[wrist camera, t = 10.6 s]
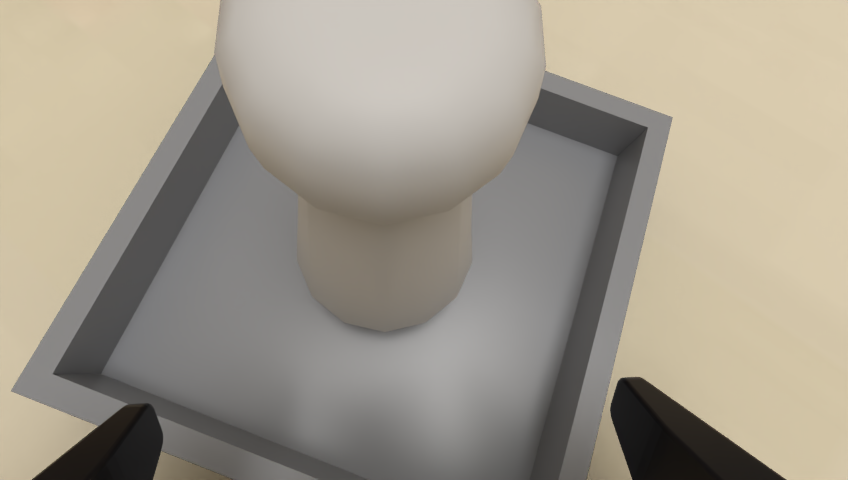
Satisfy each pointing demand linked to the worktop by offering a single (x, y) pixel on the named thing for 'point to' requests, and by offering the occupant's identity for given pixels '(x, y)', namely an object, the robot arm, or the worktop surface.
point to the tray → (353, 345)
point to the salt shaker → (382, 134)
